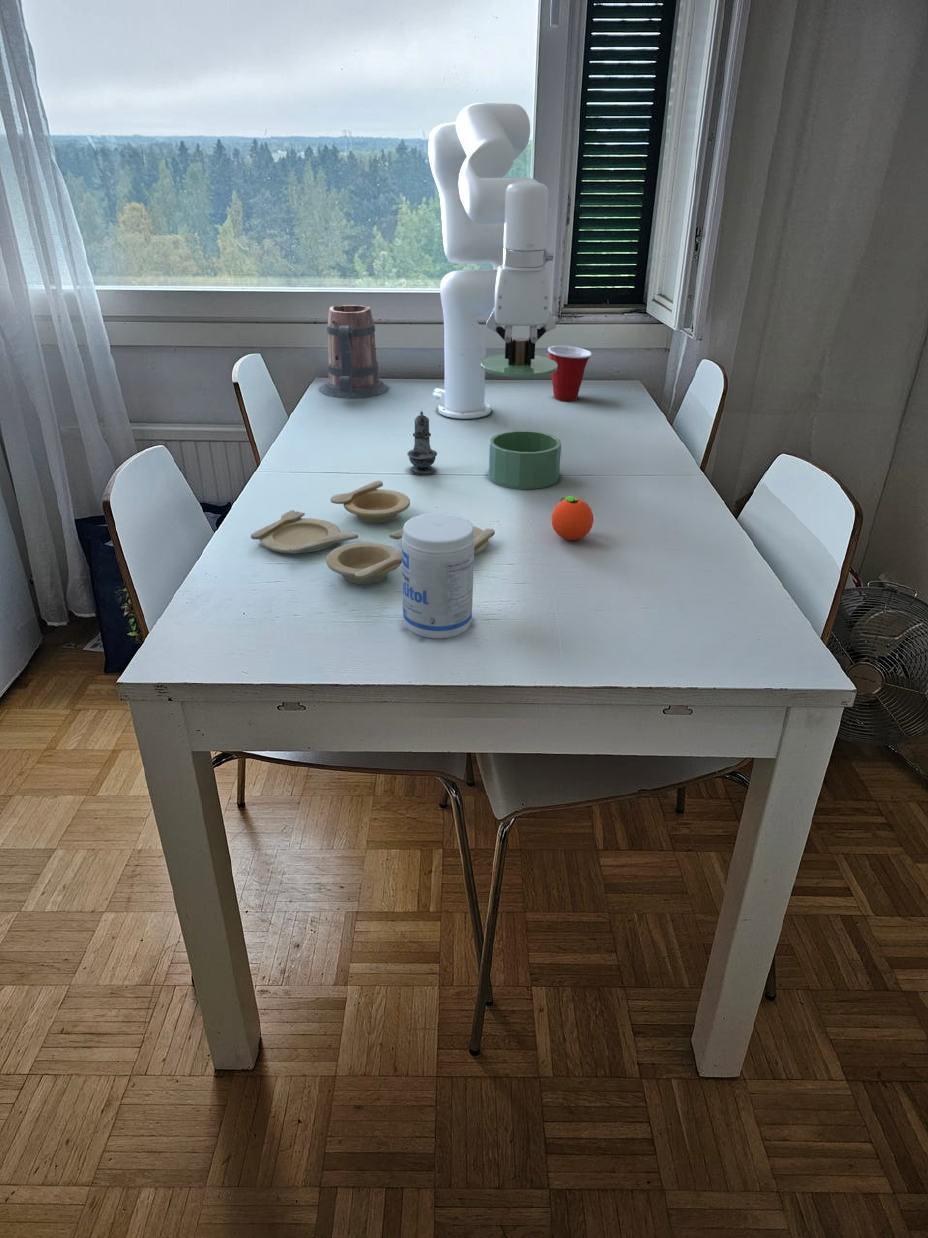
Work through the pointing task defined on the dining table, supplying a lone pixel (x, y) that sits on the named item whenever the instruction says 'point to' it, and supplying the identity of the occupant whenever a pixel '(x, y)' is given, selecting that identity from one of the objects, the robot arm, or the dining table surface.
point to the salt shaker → (422, 448)
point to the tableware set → (350, 535)
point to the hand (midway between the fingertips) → (519, 361)
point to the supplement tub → (437, 574)
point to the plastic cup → (568, 371)
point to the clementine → (572, 518)
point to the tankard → (352, 353)
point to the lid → (519, 363)
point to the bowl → (524, 459)
